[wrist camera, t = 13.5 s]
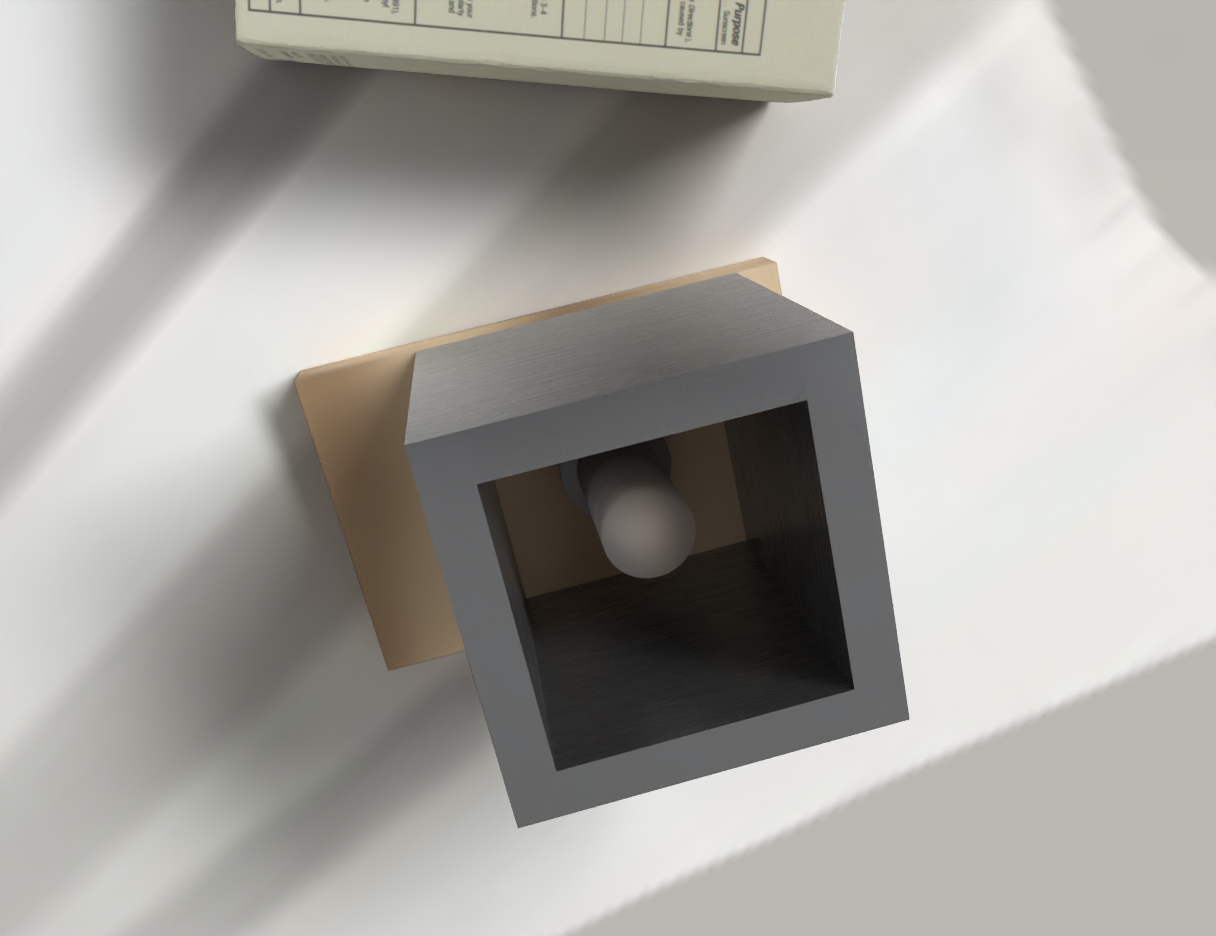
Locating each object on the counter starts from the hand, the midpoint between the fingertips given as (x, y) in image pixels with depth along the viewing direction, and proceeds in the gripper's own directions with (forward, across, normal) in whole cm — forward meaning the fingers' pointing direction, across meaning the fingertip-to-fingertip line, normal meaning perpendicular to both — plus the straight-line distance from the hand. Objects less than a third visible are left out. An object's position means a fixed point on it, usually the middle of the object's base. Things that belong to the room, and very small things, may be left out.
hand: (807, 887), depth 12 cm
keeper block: (+18, -1, 0) cm, 18 cm away
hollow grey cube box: (+16, 0, 0) cm, 16 cm away
